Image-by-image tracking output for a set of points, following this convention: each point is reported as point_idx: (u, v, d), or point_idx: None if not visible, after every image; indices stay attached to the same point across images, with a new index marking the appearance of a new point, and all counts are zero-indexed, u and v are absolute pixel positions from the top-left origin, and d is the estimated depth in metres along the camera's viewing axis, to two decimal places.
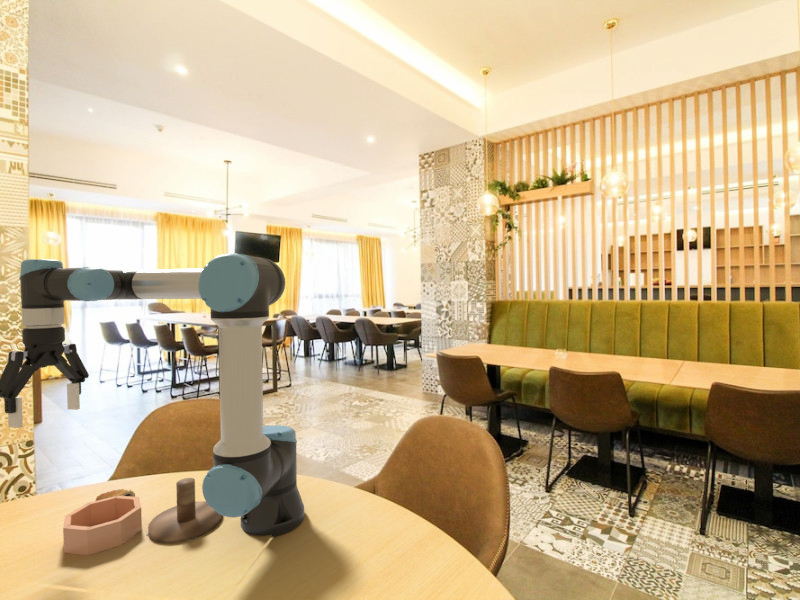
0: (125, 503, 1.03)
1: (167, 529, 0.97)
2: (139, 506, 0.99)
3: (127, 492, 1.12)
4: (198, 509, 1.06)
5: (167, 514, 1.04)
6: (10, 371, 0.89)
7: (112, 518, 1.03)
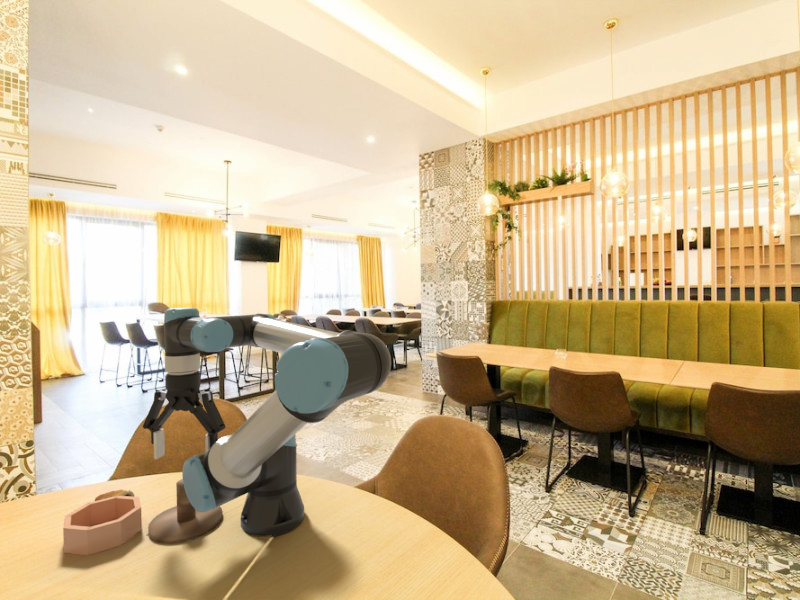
0: (125, 503, 1.03)
1: (167, 529, 0.97)
2: (139, 506, 0.99)
3: (126, 492, 1.12)
4: None
5: (167, 514, 1.04)
6: None
7: (112, 518, 1.03)
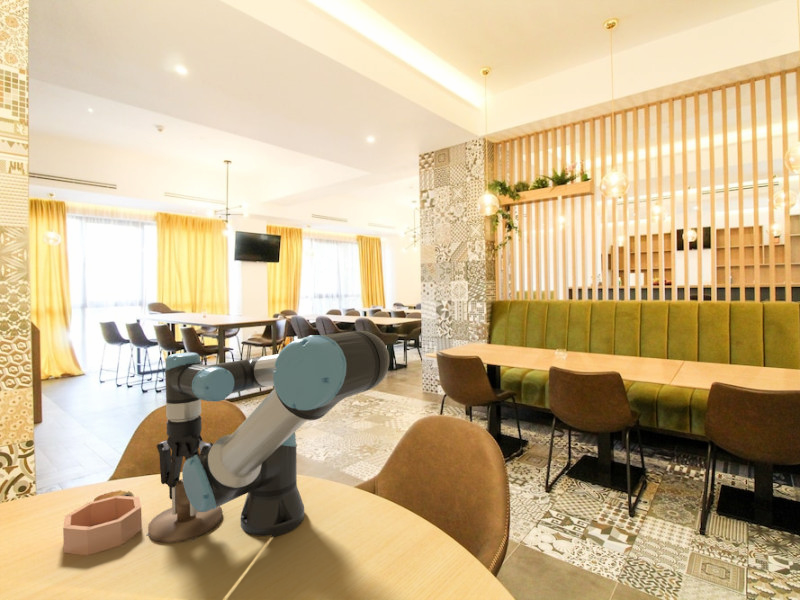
0: (125, 503, 1.03)
1: (167, 529, 0.97)
2: (139, 506, 0.99)
3: (126, 493, 1.12)
4: None
5: (167, 514, 1.04)
6: None
7: (112, 518, 1.03)
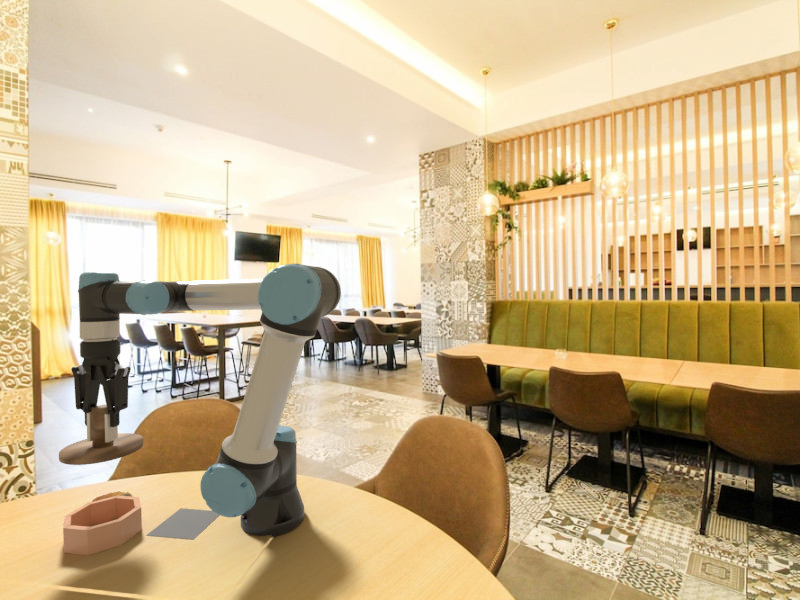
0: (125, 503, 1.03)
1: (78, 453, 0.92)
2: (139, 506, 0.99)
3: (125, 494, 1.11)
4: (119, 439, 1.01)
5: (84, 442, 0.99)
6: None
7: (112, 518, 1.03)
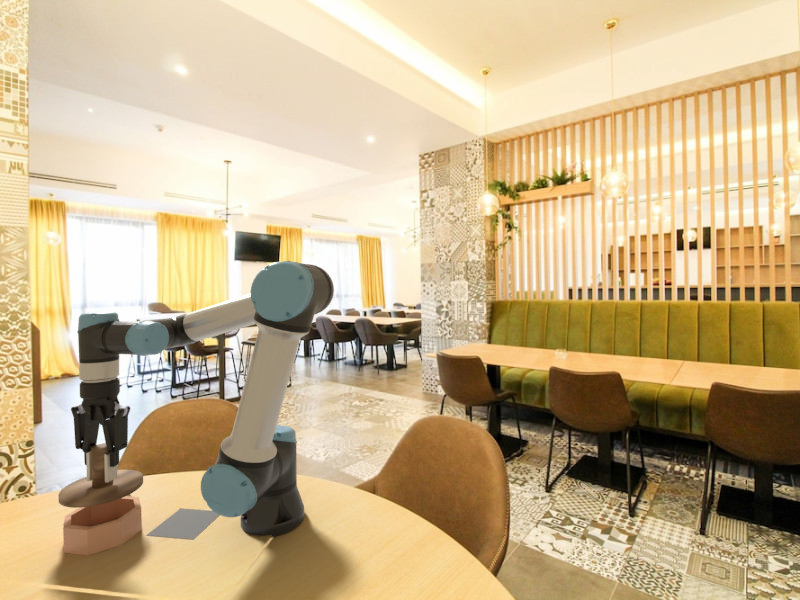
0: (125, 503, 1.03)
1: (78, 494, 0.92)
2: (139, 506, 0.99)
3: None
4: (118, 476, 1.01)
5: (84, 481, 0.99)
6: None
7: (112, 518, 1.03)
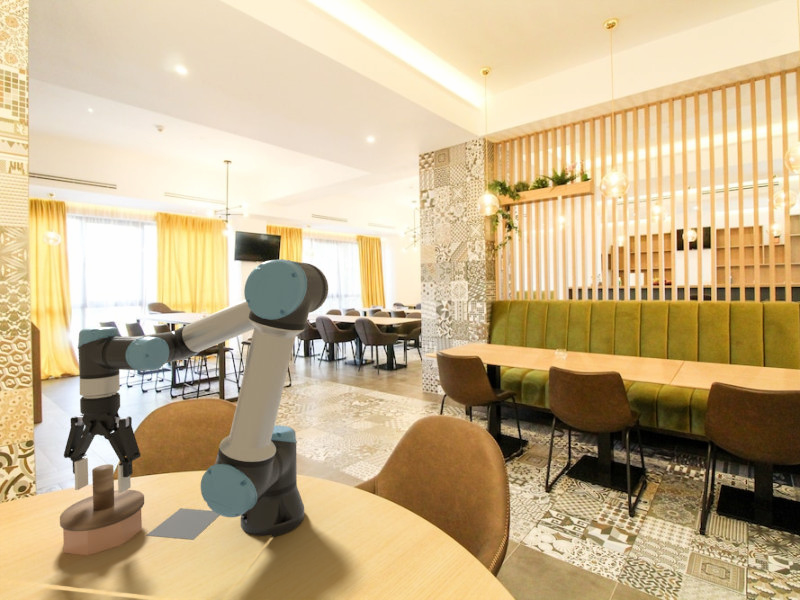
0: None
1: (79, 517, 0.93)
2: None
3: None
4: (119, 497, 1.01)
5: (85, 502, 0.99)
6: None
7: None
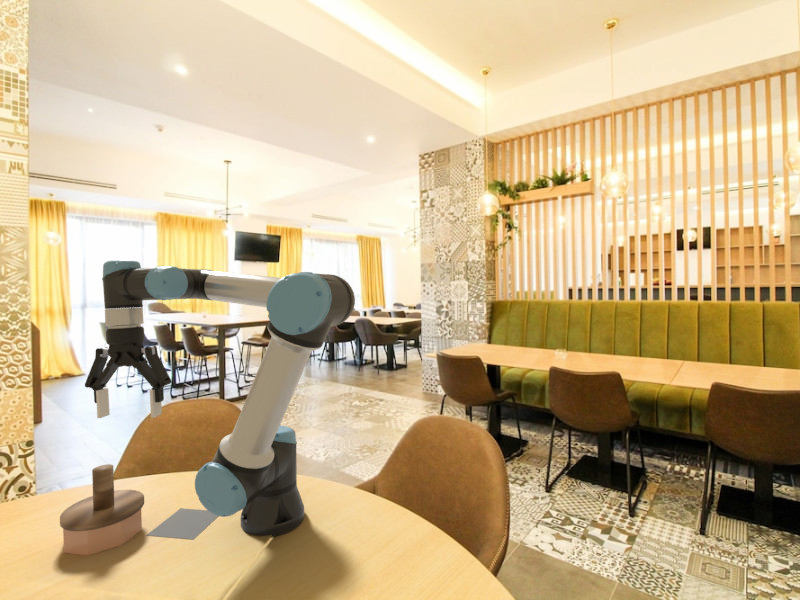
0: None
1: (79, 517, 0.93)
2: None
3: None
4: (119, 497, 1.01)
5: (85, 502, 0.99)
6: None
7: None
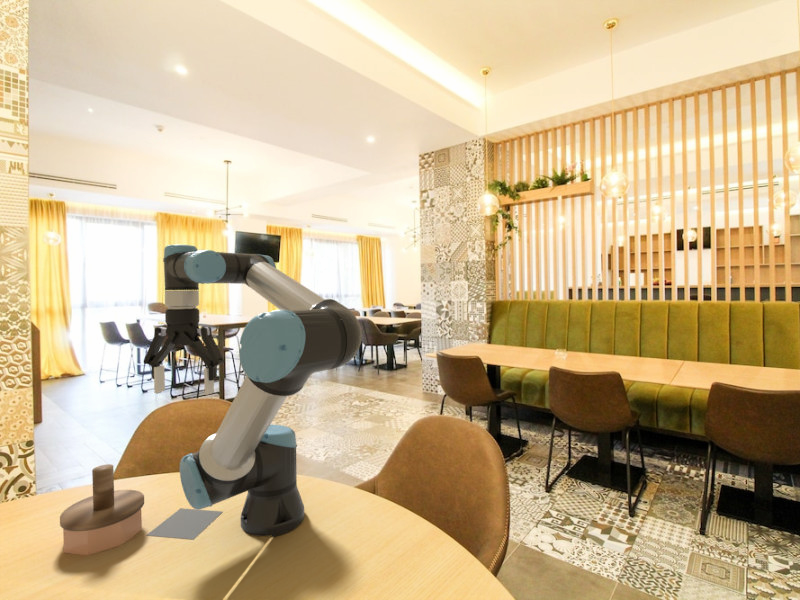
0: None
1: (79, 517, 0.93)
2: None
3: None
4: (119, 497, 1.01)
5: (85, 502, 0.99)
6: None
7: None
